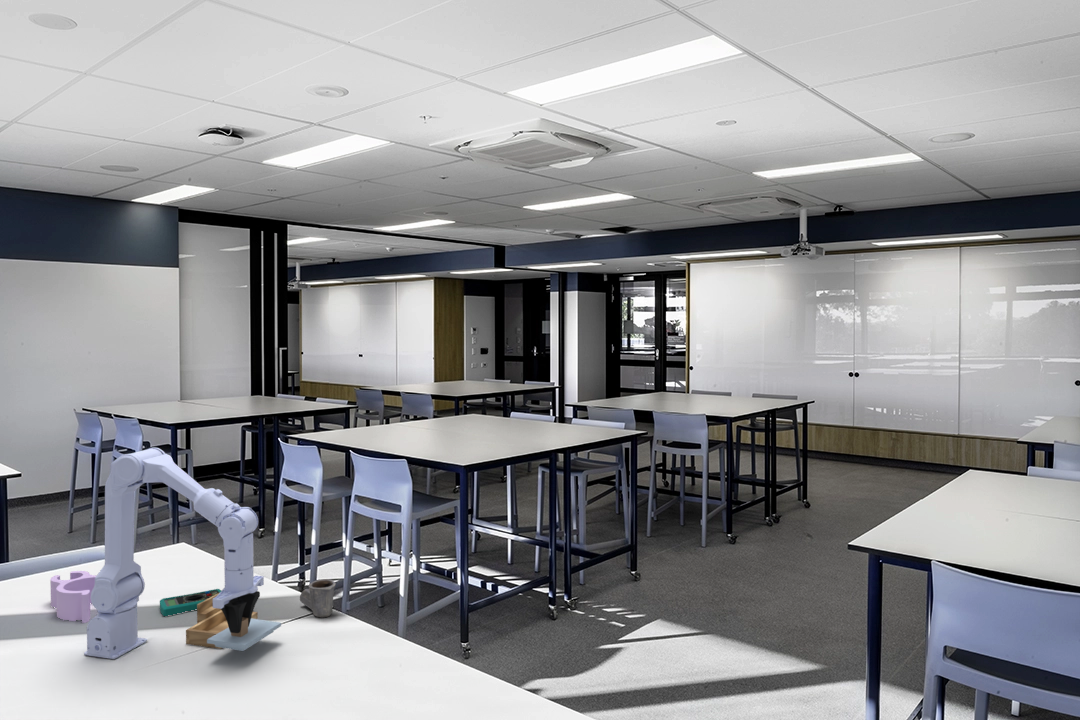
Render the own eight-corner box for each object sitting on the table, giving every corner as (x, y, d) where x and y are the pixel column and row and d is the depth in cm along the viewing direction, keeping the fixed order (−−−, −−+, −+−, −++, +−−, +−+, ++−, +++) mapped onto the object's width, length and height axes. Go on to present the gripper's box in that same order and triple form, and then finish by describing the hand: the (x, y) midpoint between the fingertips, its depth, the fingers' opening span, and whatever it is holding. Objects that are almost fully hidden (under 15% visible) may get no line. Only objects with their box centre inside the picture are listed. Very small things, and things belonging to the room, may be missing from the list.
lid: (244, 653, 152) (245, 629, 152) (206, 647, 154) (207, 624, 154) (280, 630, 164) (281, 608, 164) (245, 625, 167) (246, 603, 166)
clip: (36, 607, 183) (36, 580, 183) (90, 593, 193) (89, 567, 193) (73, 627, 172) (72, 598, 171) (128, 610, 182) (127, 583, 182)
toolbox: (221, 648, 161) (221, 620, 161) (177, 643, 163) (176, 615, 163) (278, 612, 182) (278, 586, 181) (238, 607, 184) (238, 582, 184)
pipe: (314, 602, 188) (314, 571, 188) (341, 616, 180) (341, 584, 179) (292, 608, 184) (292, 577, 184) (319, 623, 175) (319, 590, 175)
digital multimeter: (228, 606, 186) (228, 594, 186) (162, 619, 178) (162, 607, 177) (222, 597, 192) (222, 586, 192) (158, 609, 184) (158, 597, 183)
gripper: (233, 579, 149) (234, 645, 149) (275, 557, 163) (276, 618, 163) (203, 576, 150) (204, 641, 151) (247, 555, 164) (248, 614, 165)
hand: (239, 629), depth 157 cm, fingers closed on lid, 2 cm apart
